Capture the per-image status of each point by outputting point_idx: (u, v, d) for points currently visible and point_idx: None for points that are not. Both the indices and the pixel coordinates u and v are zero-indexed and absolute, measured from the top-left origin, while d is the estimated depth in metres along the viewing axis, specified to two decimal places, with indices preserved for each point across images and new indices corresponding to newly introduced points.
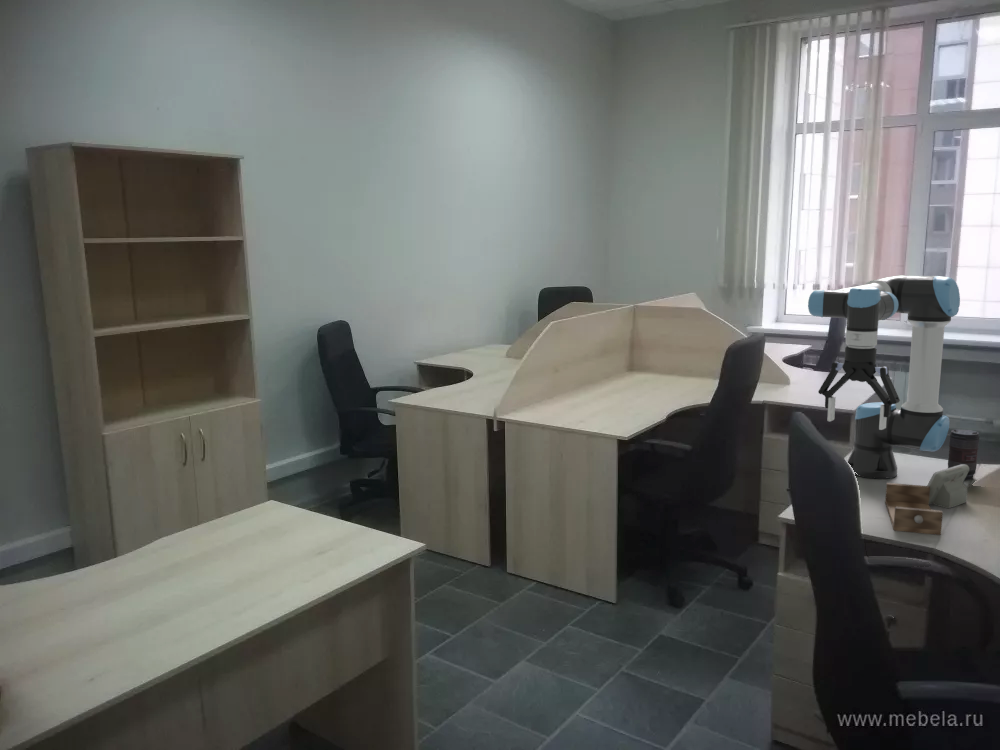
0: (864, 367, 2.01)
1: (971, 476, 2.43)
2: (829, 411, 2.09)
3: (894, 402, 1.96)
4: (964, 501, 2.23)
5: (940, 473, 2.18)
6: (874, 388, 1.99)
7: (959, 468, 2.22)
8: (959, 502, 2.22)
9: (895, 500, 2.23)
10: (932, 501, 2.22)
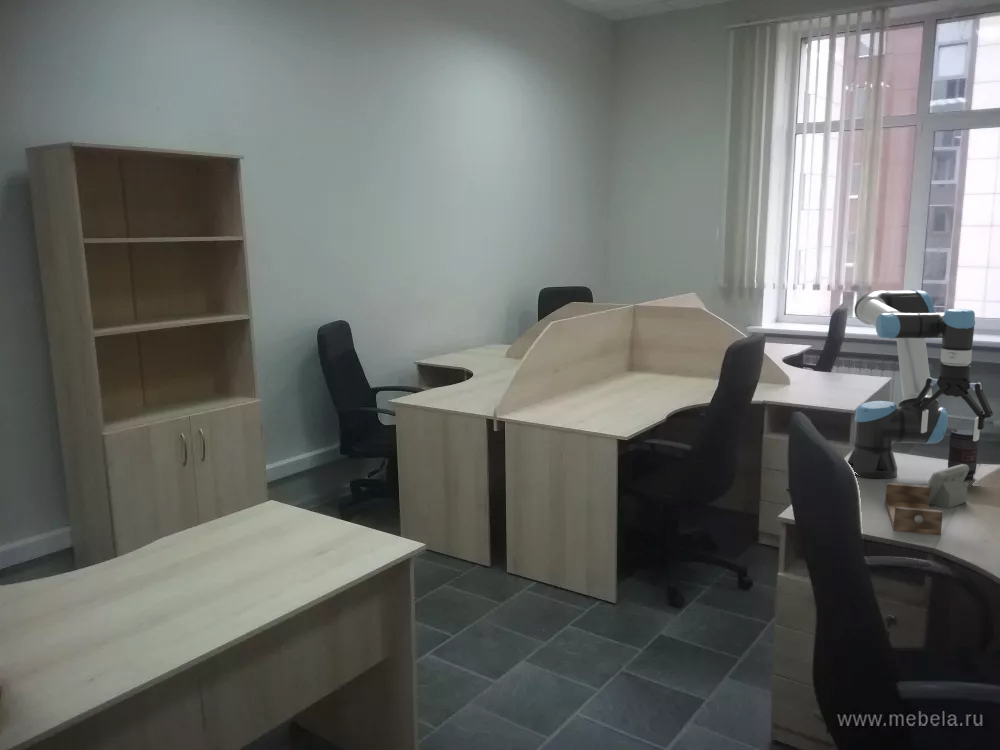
0: (959, 383, 2.16)
1: (971, 476, 2.43)
2: (923, 423, 2.25)
3: (988, 416, 2.12)
4: (964, 501, 2.23)
5: (940, 473, 2.18)
6: (969, 402, 2.15)
7: (959, 468, 2.23)
8: (959, 502, 2.22)
9: (895, 500, 2.23)
10: (932, 501, 2.23)
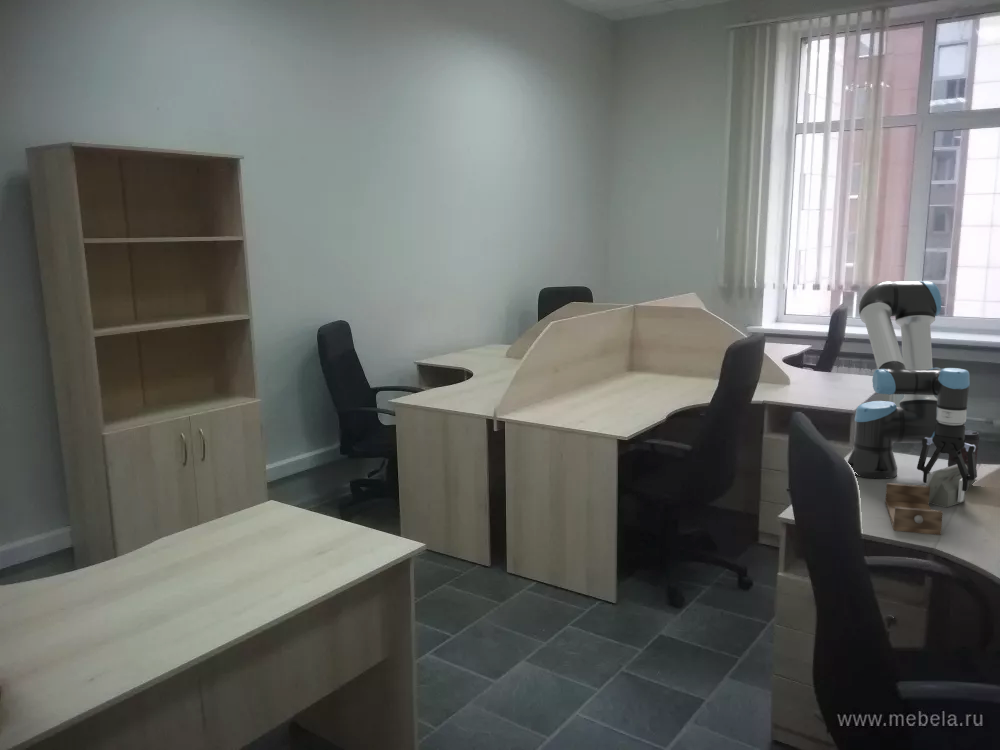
0: (955, 440, 2.19)
1: None
2: None
3: (972, 478, 2.17)
4: None
5: (938, 472, 2.19)
6: (958, 463, 2.20)
7: (957, 467, 2.23)
8: (957, 501, 2.22)
9: (895, 500, 2.23)
10: (930, 500, 2.23)
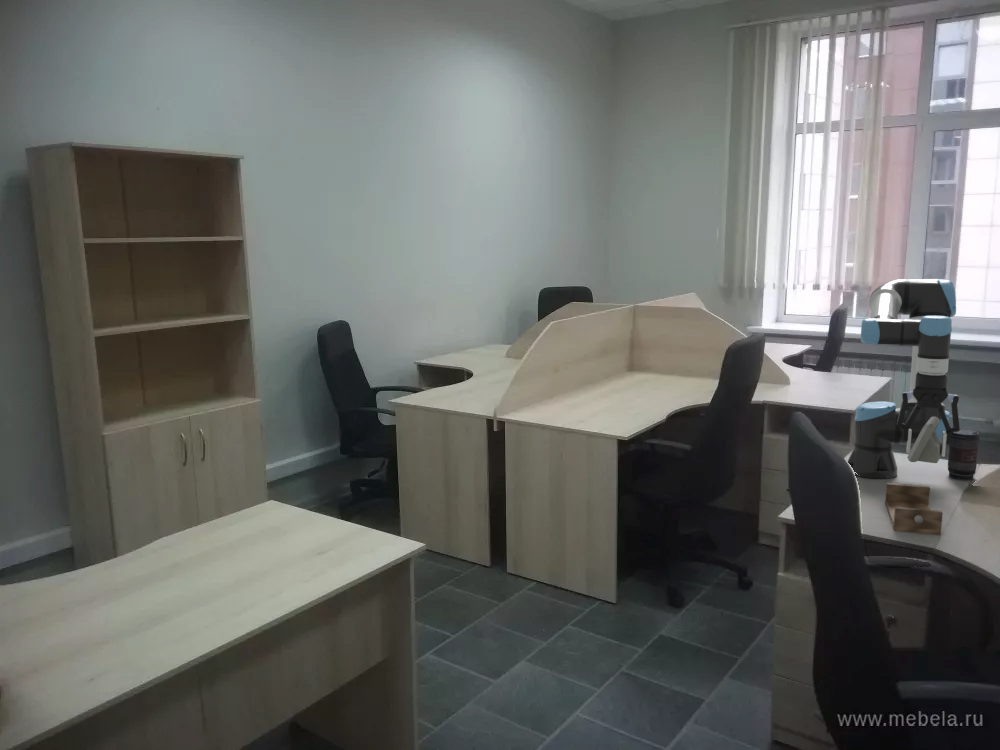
0: (938, 391, 2.08)
1: (971, 476, 2.43)
2: (909, 443, 2.12)
3: (957, 430, 2.07)
4: None
5: (929, 426, 2.05)
6: (942, 415, 2.08)
7: (936, 420, 2.12)
8: (940, 456, 2.11)
9: (895, 500, 2.23)
10: (918, 458, 2.09)
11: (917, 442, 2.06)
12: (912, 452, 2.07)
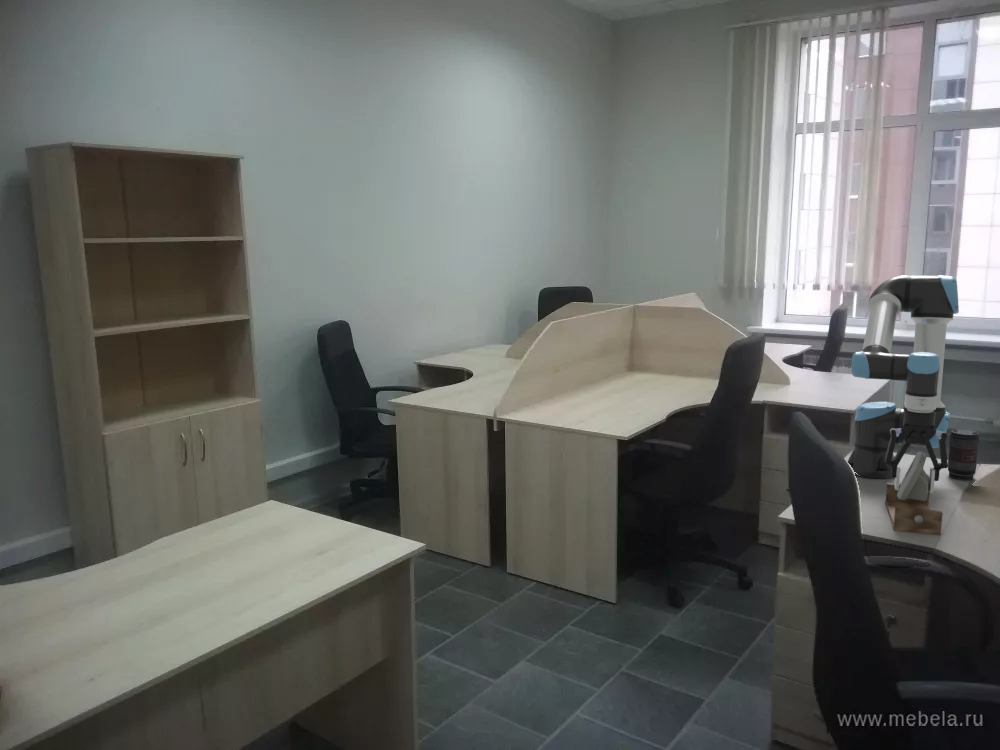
0: (926, 428, 2.07)
1: (971, 476, 2.43)
2: (898, 480, 2.11)
3: (945, 467, 2.06)
4: (928, 490, 2.13)
5: (919, 464, 2.04)
6: (930, 452, 2.07)
7: (923, 456, 2.11)
8: None
9: (895, 500, 2.23)
10: (907, 495, 2.08)
11: (907, 480, 2.05)
12: (902, 490, 2.06)
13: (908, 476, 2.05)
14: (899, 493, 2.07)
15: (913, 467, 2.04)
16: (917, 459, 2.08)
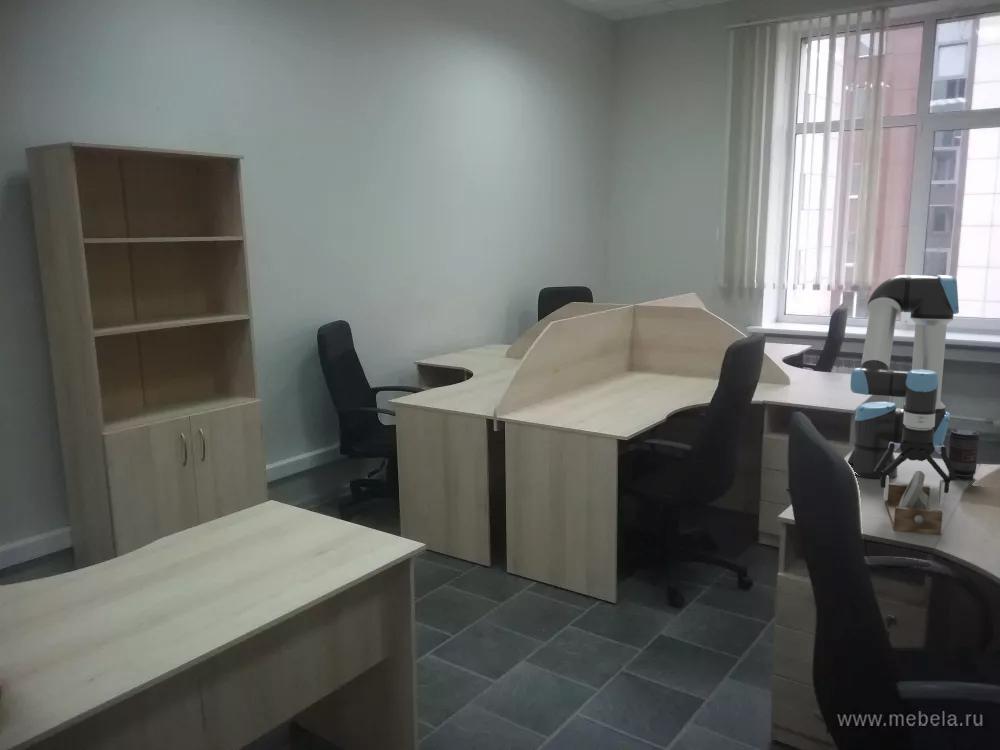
0: (924, 447, 2.08)
1: (971, 476, 2.43)
2: (887, 490, 2.13)
3: (955, 479, 2.06)
4: None
5: (918, 485, 2.05)
6: (935, 466, 2.07)
7: (922, 476, 2.12)
8: None
9: (895, 500, 2.23)
10: None
11: (906, 501, 2.06)
12: None
13: (907, 497, 2.06)
14: None
15: (912, 488, 2.05)
16: (916, 479, 2.09)
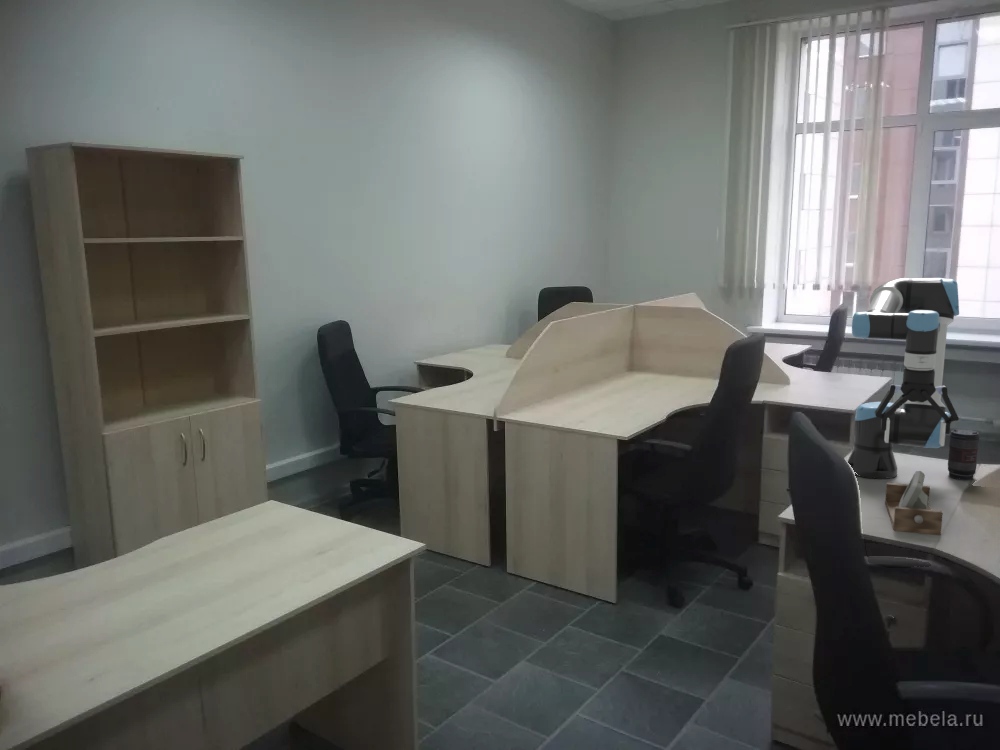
0: (925, 388, 2.07)
1: (971, 476, 2.43)
2: (887, 433, 2.12)
3: (957, 419, 2.06)
4: None
5: (918, 485, 2.05)
6: (936, 407, 2.07)
7: (921, 476, 2.12)
8: None
9: (895, 500, 2.23)
10: None
11: (906, 501, 2.06)
12: None
13: (907, 496, 2.06)
14: None
15: (912, 488, 2.05)
16: (916, 479, 2.09)
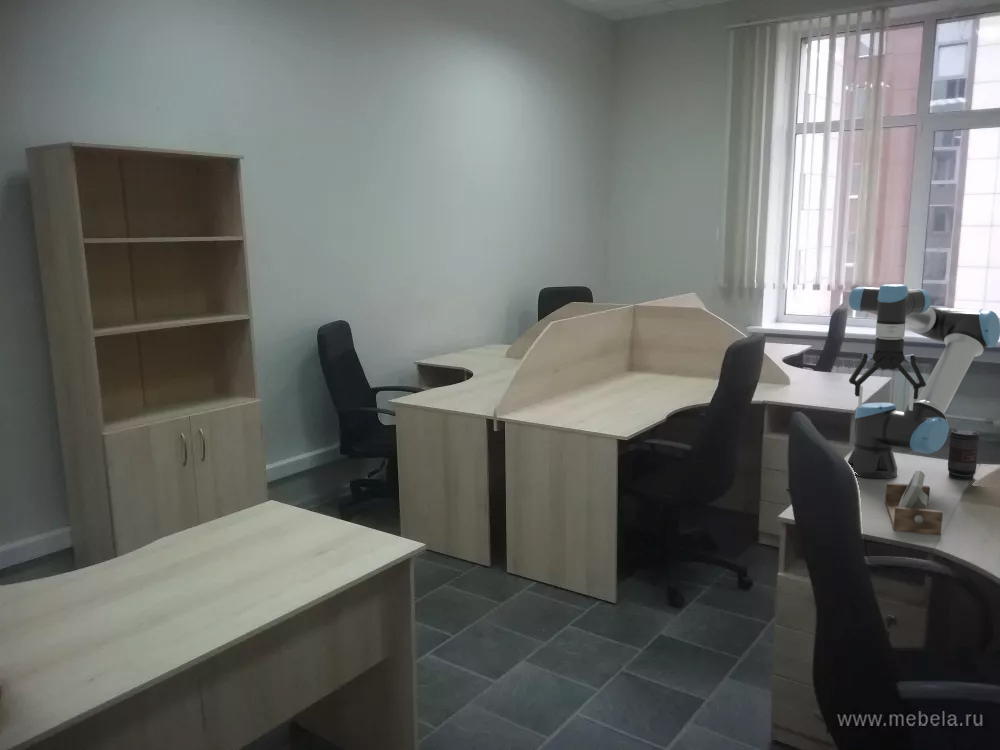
0: (895, 356, 2.23)
1: (971, 476, 2.43)
2: (860, 398, 2.28)
3: (924, 385, 2.22)
4: None
5: (918, 485, 2.05)
6: (905, 374, 2.23)
7: (921, 476, 2.12)
8: None
9: (895, 500, 2.23)
10: None
11: (906, 501, 2.06)
12: None
13: (907, 496, 2.06)
14: None
15: (912, 488, 2.05)
16: (916, 479, 2.09)
